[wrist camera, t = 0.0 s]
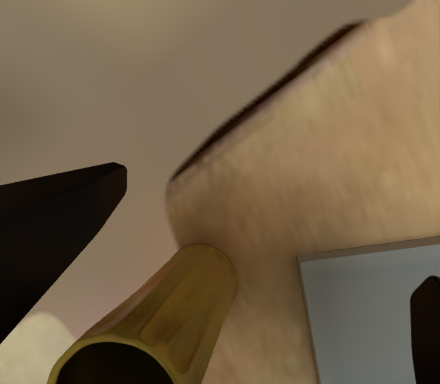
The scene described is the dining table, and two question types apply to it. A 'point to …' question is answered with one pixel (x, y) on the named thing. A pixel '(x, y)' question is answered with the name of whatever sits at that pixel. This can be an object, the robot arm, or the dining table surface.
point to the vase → (157, 327)
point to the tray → (365, 309)
